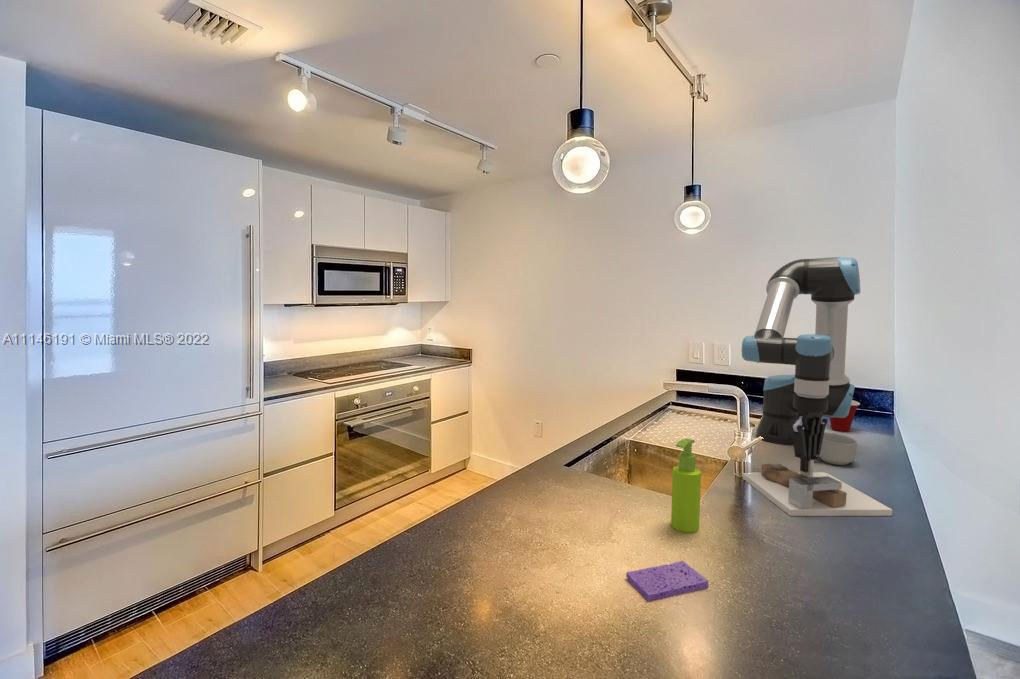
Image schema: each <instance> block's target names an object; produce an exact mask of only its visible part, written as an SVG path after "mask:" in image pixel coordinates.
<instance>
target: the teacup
mask: <svg viewBox="0 0 1020 679" xmlns="http://www.w3.org/2000/svg"><path fill="white" fill-rule="evenodd" d="M858 444H859V441H858V440H857V439H856V438H854V437H851V436H849V435H845V434H842V433H836V432H829V431H824V436H823V441H822V446H821V451H820V455H819V456H818V457H819V459H820V460H821V461H823V462H825V463H828V464H830V465H837V466H845V465H848V464H849V463H852V462H853V461H854V460H855V458H856V455H857V450H858V449H857V448H858Z"/></svg>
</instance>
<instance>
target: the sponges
mask: <svg viewBox="0 0 1020 679" xmlns="http://www.w3.org/2000/svg"><path fill="white" fill-rule="evenodd" d="M626 578H627V582H629V583H630V585H632V587H634V588H635V590H637V591H638V592H639V593H640V594H641V595H642V596H643V597H644V599H646V601H647V602H652V601H657V600H660V599H663V598H668V597H669V598H671V597H674V596H678V595H682V594H683V595H684V594H686V593H690V592H692V593H693V592H696V591H700V590H705V589H709V579H708V578H706V577H705V576H704V575H702V574H701V573H698V572H697V570H695V569H694V567H693V568H692V567H691V566H690V565H689V564H688V563H687V562H685V560H680V561H675V562H671V563H669V564H660V565H657V566H651V567H646V568H642V569H636V570H631V571H630V570H629V571H627V572H626Z"/></svg>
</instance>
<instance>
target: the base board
mask: <svg viewBox="0 0 1020 679" xmlns="http://www.w3.org/2000/svg"><path fill="white" fill-rule="evenodd" d="M795 472H796V473H799V474H800V471H799V472H797V471H795ZM825 476H829V477H831V478H833V479H835V480H837V481H839V482H842V488H841V489H839V490H841V491H844V492H846V493H847V494H846V505H842V506H836V507H832V506H830V505H828V504H825V503H823V502H821V501H819V500H816V499H814V498H813V499H812V509H799V508H797V507H796V506H794V505H792V504H791V503H789V502H788V496H789V487H787V486H785V485H783V484H780V483H778V482H775V481H771V480H768V479H766V478H765V477H764V476H762V475H761V472H755V471H754V472H752V471H751V474H746V473H742V477H743V478H742V480H743V481H745V480H746V481H745V482H747V484H749V485H750V486H751V485H752V486H751V487H753V488H754V489H755V490H756V491H758V492H759V493H761V495H763V496H764V497H765V498H766V499H768V500H769V501H771V503H773V504H774V505H776V506H777V507H778V508H779V509H781V510H782V511H783V512H785V513H786V514H787V515H788V516H790V517H792V516H793V517H795V516H797V517H802V516H803V517H807V516H808V517H811V516H812V517H817V516H818V517H827V516H828V517H835V516H836V517H838V516H839V517H843V516H844V517H850V516H851V517H855V516H857V517H864V516H865V517H869V516H870V517H884V516H885V517H892V516H893V509H891V508H890V507H888V506H886V505H885V504H883V503H881V502H880V501H877V500H875V499H874V498H872V497H870V496H869V495H867V494H865V493H863V492H862V491H860V490H858V489H857V488H855V487H852V486H851V485H849V484H847V483H846V482H844V481H842V480H840V479H838V478H837V477H834V476H833V475H831V474H829V473H827V472H815V471H813V477H825Z"/></svg>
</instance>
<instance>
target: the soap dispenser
mask: <svg viewBox="0 0 1020 679" xmlns="http://www.w3.org/2000/svg"><path fill="white" fill-rule="evenodd" d="M694 443H696V442H695V439H691V438H687V437H686V438H684V439H681V440H678V442H677V443H676V444H675V447H677V448H682V449H683V451H682V452H680V453H679V454H678V458H679V459H678V465H675V466H673V468H672V482H671V484H672V486H671V487H672V488H671V520H670V525H671V527H672V528H673V529H675V530H676V531H678V532H682V533H685V534H686V533H688V534H689V533H690V534H691V533H692V534H693V533H697V532H698V531H699V530H700V510H701V508H700V507H701V487H702V486H701V484H702V483H701V481H702V471H701V470H700V469H699V468H697V467H696V454H695V453H693V451H692V450H693V448H692V447H693V445H692V444H694Z"/></svg>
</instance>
